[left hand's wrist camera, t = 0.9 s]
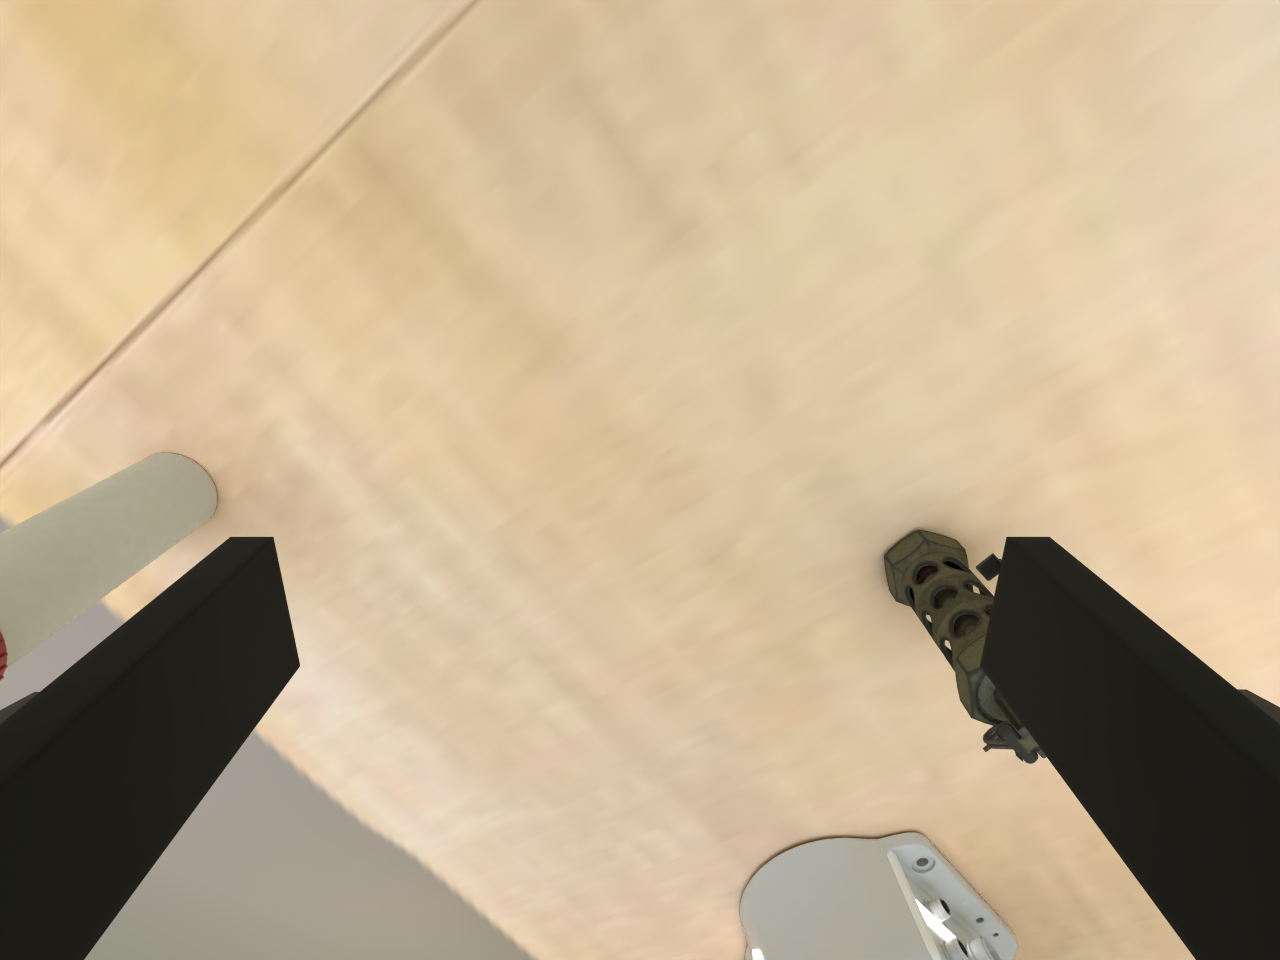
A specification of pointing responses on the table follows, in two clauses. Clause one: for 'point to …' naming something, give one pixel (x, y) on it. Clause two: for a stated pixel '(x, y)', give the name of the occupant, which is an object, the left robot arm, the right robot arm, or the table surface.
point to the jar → (95, 544)
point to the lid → (2, 656)
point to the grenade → (958, 626)
